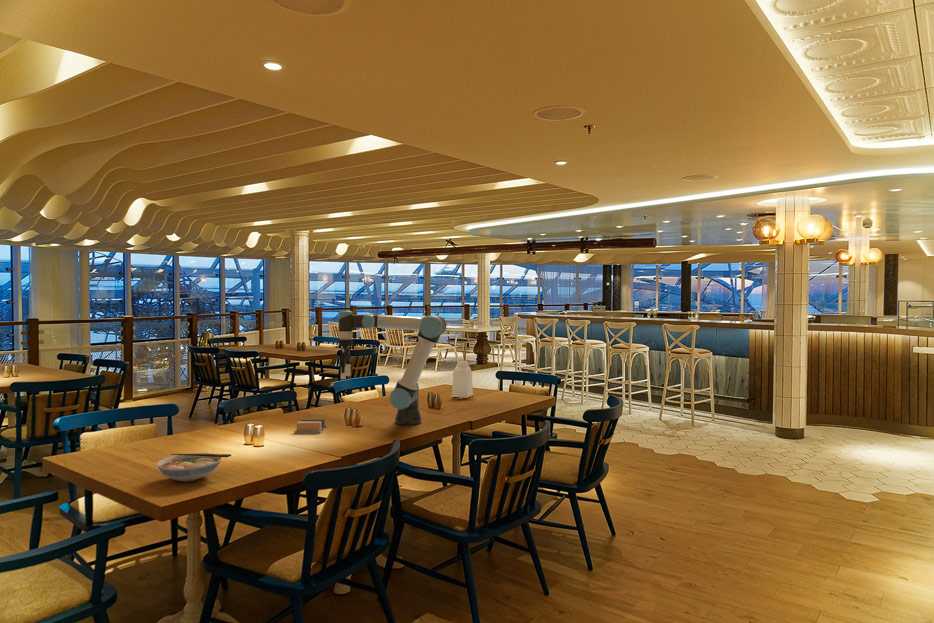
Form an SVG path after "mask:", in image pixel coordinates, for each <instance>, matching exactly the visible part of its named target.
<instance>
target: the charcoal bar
mask: <svg viewBox="0 0 934 623" xmlns="http://www.w3.org/2000/svg"><path fill="white" fill-rule="evenodd" d="M300 421H322V428H325V425H326V418H302V419H300ZM325 429H326V428H325Z"/></svg>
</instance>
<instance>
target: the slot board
mask: <svg viewBox="0 0 934 623" xmlns="http://www.w3.org/2000/svg"><path fill="white" fill-rule="evenodd" d="M327 428H328V426H327V424H325V428H322V431H297V430H295V431H294V435H296V434H297V435H300V434H301V435H311V434H312V435H317V434H318V435H320V434H322V432H324V430H326V429H327Z"/></svg>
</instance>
